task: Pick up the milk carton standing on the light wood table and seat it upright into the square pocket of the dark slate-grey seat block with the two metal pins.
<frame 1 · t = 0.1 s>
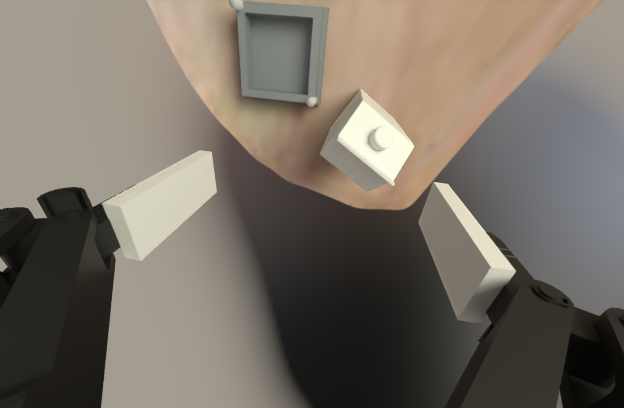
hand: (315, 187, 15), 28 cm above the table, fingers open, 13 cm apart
seat block: (284, 57, 36), on the table
milk carton: (361, 122, 39), on the table
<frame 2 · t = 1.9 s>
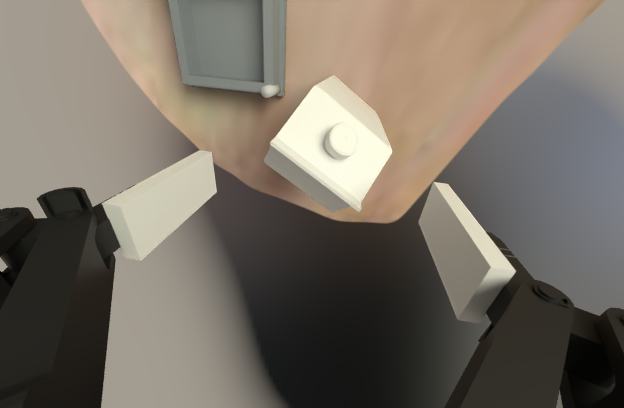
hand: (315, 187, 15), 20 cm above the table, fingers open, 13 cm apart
seat block: (235, 34, 28), on the table
milk carton: (337, 117, 31), on the table
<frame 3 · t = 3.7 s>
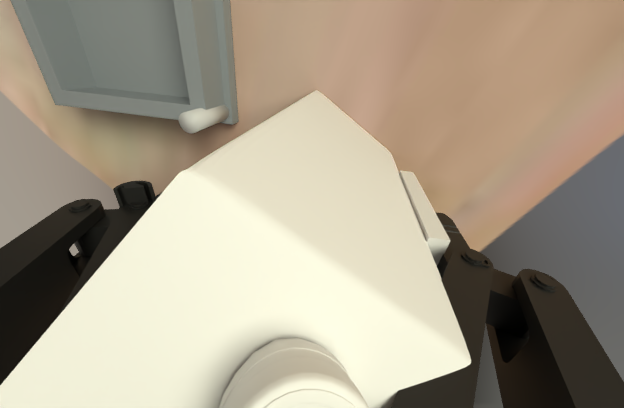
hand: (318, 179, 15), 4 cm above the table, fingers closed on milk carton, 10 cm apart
seat block: (146, 18, 16), on the table
milk carton: (325, 157, 19), on the table, touching gripper
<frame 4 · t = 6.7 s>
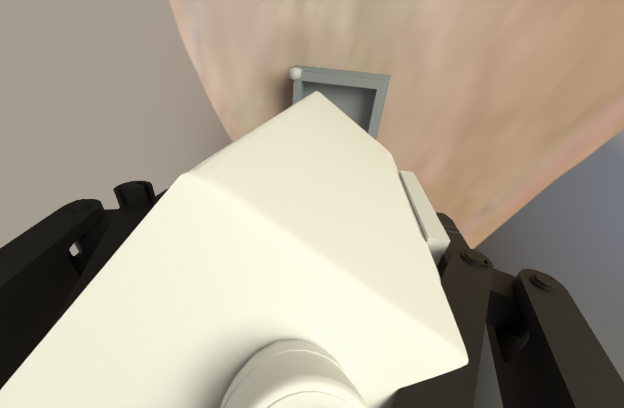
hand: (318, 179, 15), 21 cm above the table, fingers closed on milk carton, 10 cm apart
seat block: (335, 118, 34), on the table
milk carton: (325, 158, 19), point 17 cm above the table, touching gripper
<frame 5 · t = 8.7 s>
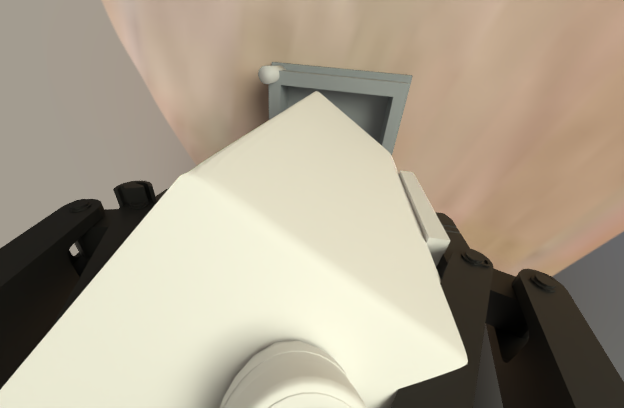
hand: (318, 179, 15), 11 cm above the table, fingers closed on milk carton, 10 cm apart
seat block: (332, 136, 24), on the table
milk carton: (325, 158, 19), point 6 cm above the table, touching gripper
when the fingers open (7 cm above the table, at t = 10.1 s): milk carton stays where it is, resting on seat block.
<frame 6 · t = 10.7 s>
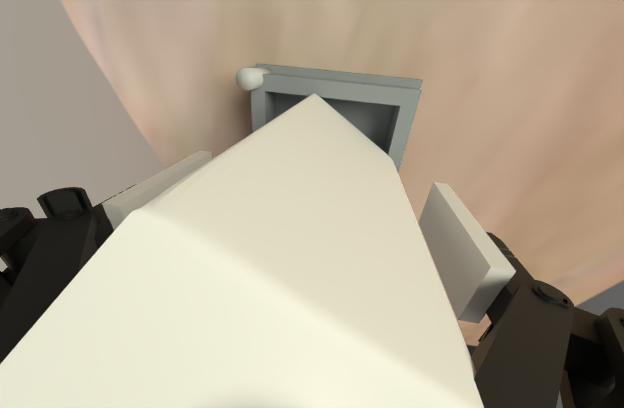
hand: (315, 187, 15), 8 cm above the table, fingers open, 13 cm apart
seat block: (328, 149, 21), on the table
milk carton: (323, 163, 18), point 3 cm above the table, touching seat block
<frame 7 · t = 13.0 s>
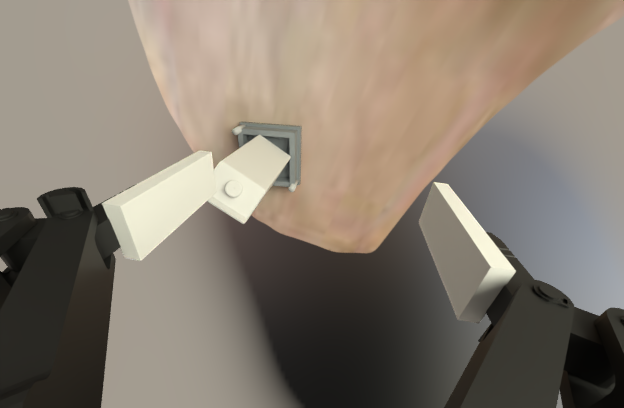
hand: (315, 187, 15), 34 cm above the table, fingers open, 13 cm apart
seat block: (272, 153, 50), on the table
milk carton: (267, 159, 47), point 3 cm above the table, touching seat block
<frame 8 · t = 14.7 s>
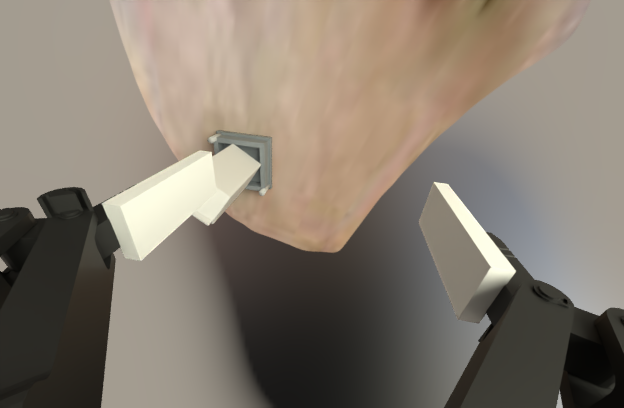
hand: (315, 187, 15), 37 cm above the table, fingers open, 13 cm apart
seat block: (246, 160, 55), on the table
milk carton: (240, 165, 52), point 3 cm above the table, touching seat block
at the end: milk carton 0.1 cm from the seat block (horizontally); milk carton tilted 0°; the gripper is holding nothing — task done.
